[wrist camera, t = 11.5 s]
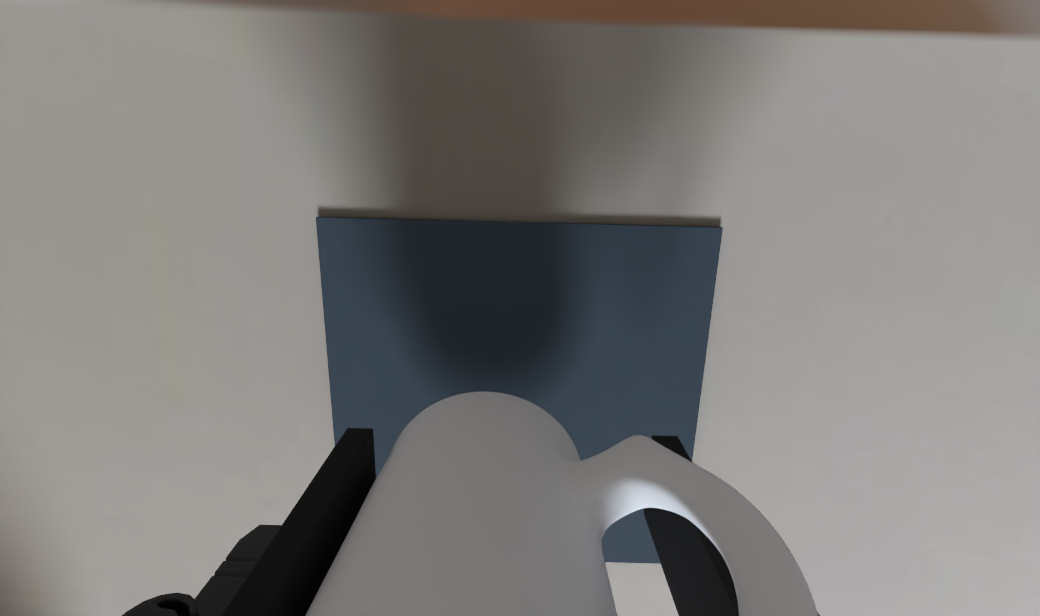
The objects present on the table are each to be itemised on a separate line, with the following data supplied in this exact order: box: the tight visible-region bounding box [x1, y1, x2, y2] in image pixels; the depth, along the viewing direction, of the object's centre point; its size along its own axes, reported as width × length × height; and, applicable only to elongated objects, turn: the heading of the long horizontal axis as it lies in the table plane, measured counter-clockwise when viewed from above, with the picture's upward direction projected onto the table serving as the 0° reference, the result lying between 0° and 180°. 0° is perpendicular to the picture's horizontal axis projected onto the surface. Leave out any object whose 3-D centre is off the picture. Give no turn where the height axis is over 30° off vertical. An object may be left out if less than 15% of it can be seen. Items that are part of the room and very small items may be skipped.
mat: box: [316, 217, 722, 563], centre depth 19 cm, size 14×14×1 cm
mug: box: [305, 392, 818, 616], centre depth 10 cm, size 10×7×12 cm, turn 123°
